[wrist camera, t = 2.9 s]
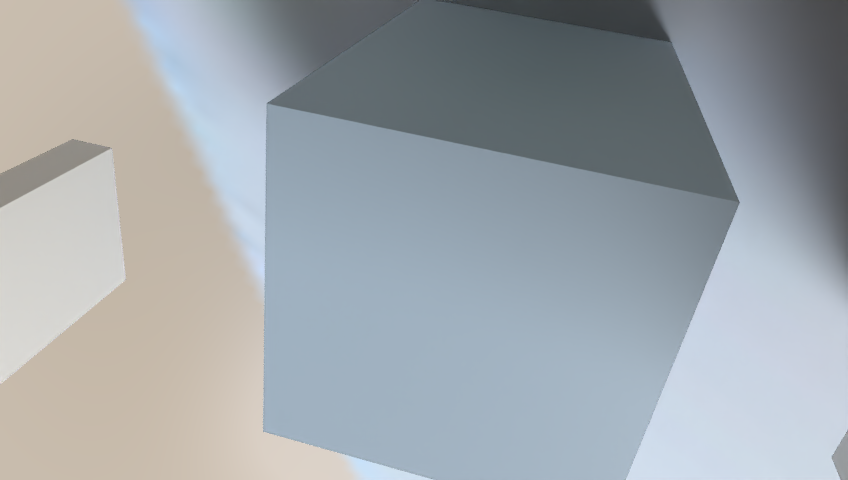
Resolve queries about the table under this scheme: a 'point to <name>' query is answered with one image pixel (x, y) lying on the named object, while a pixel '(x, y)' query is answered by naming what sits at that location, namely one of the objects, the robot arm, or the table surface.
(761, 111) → the table surface
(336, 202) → the slate blue block
